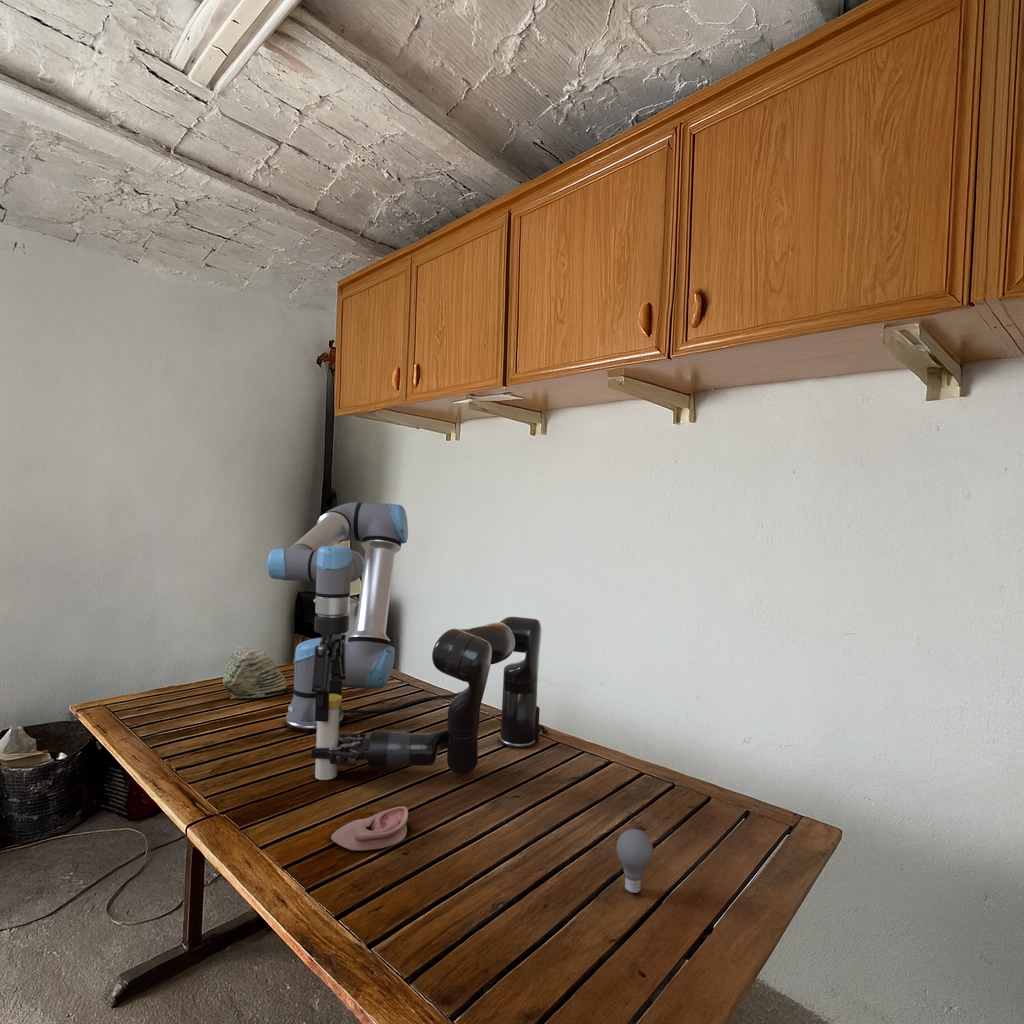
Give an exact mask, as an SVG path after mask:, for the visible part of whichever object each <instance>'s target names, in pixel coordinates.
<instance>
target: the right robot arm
mask: <svg viewBox="0 0 1024 1024" xmlns="http://www.w3.org/2000/svg"><path fill="white" fill-rule="evenodd" d="M542 630H543V629H542V623H541V622H540V620H539V619H537V618H531V617H522V616H520V617H519V616H507V617H504V618H502V619H501V620H500V621H498V622H490V623H486V624H484V625H480V626H475V627H469V628H450V629H447V630H446V631H445V632H443V633H442V634H441V636H439V637H438V639H437V641H436V642H435V643H434V646H433V648H432V653H431V658H432V659H431V660H432V664H433V666H434V667H435V669H437V671H439V672H440V673H442V674H444V675H446V676H449V677H452V678H454V679H457V680H459V681H461V682H465V683H467V684H468V685H467V687H466V688H465V689H464V690H462V691H460V692H461V693H460V694H458V695H457V696H455V697H453V699H452V700H451V702H450V704H449V706H448V708H447V728H445V729H442V730H437V731H433V732H430V733H421V732H420V733H418V732H417V733H416V732H415V733H413V732H406V731H405V732H403V731H371V733H370V735H369V738H367V737H366V732H354V733H353V732H352V733H339V738H338V747H335V748H330V749H329V748H316V747H313V748H312V749H311V759H314V760H315V759H329V760H330V764H335V765H337V766H343V767H344V766H346V767H356V766H357V761H364V760H367V765H368V767H371V768H373V767H374V768H402V767H430V766H433V765H434V764H435V762H436V760H437V756H438V754H439V753H440V752H441V751H444V750H446V751H447V753H446V755H447V756H446V764H447V767H448V769H449V770H450V771H451V772H452V773H453V774H454V775H455V774H456V775H458V776H466V775H468V774H470V773H472V772H473V771H474V770H475V769H476V768H477V765H478V761H479V737H478V735H479V729H480V716H481V715H480V714H481V705H482V702H483V698H484V694H485V690H486V687H487V682H488V677H489V674H490V669H491V665H497V664H499V663H501V662H503V661H505V660H506V659H508V658H509V657H511V655H512V654H513V653H519V654H520V653H521V654H525V656H524V658H523V659H521V660H518V661H515V662H511V663H508V664H506V665H505V666H504V668H503V674H502V675H503V678H502V696H501V697H502V699H501V719H500V720H501V722H500V723H501V725H500V729H499V734H500V737H499V741H500V743H501V744H502V745H504V746H505V747H509V748H515V749H527V748H530V747H533V746H534V745H536V744H538V743H539V734H541V733H542V734H543V735H546V734H548V733H549V730H548V729H546V727H545V726H543V725H541V724H540V713H541V712H540V711H541V709H540V706H538V685H539V684H538V683H539V668H540V656H541V655H540V654H541V645H542V644H541V643H542Z"/></svg>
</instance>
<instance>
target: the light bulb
mask: <svg viewBox="0 0 1024 1024" xmlns="http://www.w3.org/2000/svg"><path fill="white" fill-rule="evenodd" d="M615 849H616V854H617V857H618V859H619V861H620V863H621V865H622V867H623V873H624V874H623V875H624V876H625V878H624V888H625V890H627V891H628V892H630V893H634V894H635V893H639V892H640V891H641V889H642V887H641V886H642V879H643V877H644V875H645V871H646V868H647V867H648V866H649V864H650V863H651V861H652V859H653V855H654V847H653V843H652V841H651V838H649V836H648V835H647V834H646V833H645V832H643V831H642V830H641V829H636V828H629V829H627V830H625V831H623V832H622V833H621V834H620V835H619V837H618V839H617V841H616V847H615Z"/></svg>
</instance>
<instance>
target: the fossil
mask: <svg viewBox="0 0 1024 1024" xmlns="http://www.w3.org/2000/svg"><path fill="white" fill-rule="evenodd" d="M222 676H223V677H222V685H223V687H224V688H225V690H226V691H228V693H229V698H230V699H250V698H264V697H271V696H275V695H281V694H284V693H285V691H286V689H287V687H288V686H287V680H286V678H285V676H284V674H283V673H282V672H281V669H279V668H278V667H277V665H276V663H275V662H274V660H273V659H272V658H271V657H270V656H269V655H268V654H267V653H266V652H265V650H264V649H263V648H260V647H258V648H251V647H247V646H246V647H245V646H238V647H237V648H236V649H235V650H233V651H232V653H231V656H230V657H229V659H228V660H227V663H226V666H225V668H224V671H223V675H222Z"/></svg>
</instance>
